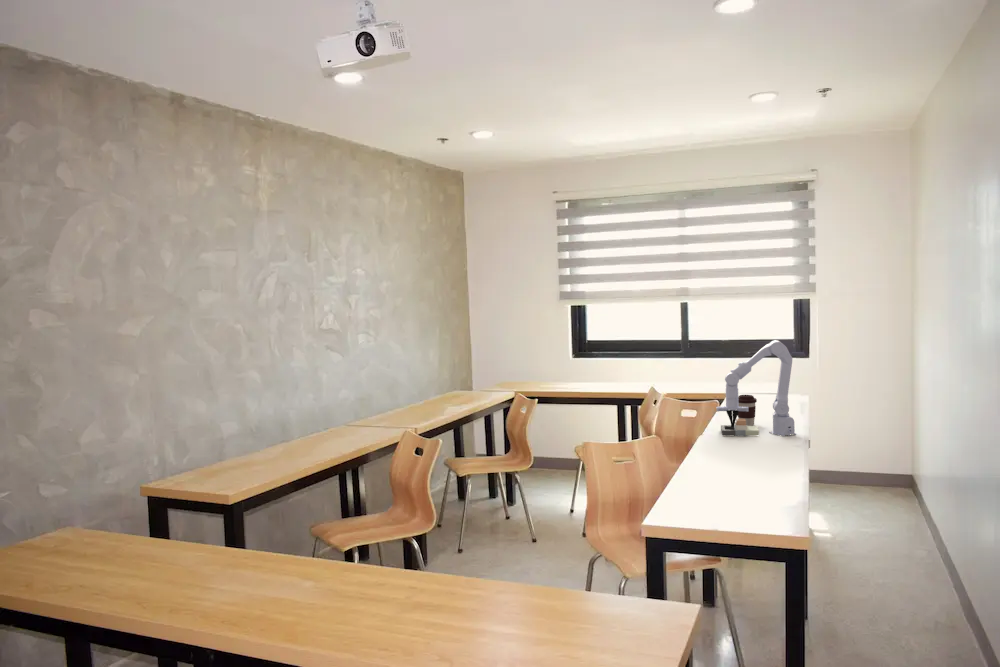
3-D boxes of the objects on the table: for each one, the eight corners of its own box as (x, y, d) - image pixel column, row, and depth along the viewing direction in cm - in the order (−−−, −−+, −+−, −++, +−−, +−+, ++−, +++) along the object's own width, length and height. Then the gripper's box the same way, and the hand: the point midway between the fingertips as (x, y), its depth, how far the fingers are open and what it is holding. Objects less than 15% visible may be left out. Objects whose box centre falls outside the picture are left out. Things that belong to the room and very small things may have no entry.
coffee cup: (753, 427, 363) (752, 397, 362) (733, 426, 369) (732, 396, 368) (759, 424, 371) (759, 394, 370) (740, 422, 377) (739, 393, 376)
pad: (756, 430, 356) (756, 425, 356) (758, 435, 345) (758, 430, 345) (743, 430, 357) (743, 425, 357) (745, 435, 347) (745, 430, 346)
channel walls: (745, 426, 356) (745, 422, 356) (747, 430, 347) (747, 425, 347) (735, 426, 357) (734, 422, 357) (736, 429, 348) (736, 425, 348)
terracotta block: (745, 427, 354) (744, 418, 354) (745, 429, 349) (745, 420, 349) (736, 426, 355) (736, 418, 355) (737, 429, 350) (736, 420, 350)
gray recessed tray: (743, 430, 358) (743, 425, 358) (745, 436, 346) (745, 430, 346) (720, 430, 361) (720, 425, 361) (722, 435, 348) (722, 430, 348)
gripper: (716, 399, 350) (717, 427, 351) (748, 399, 346) (749, 427, 347) (716, 397, 357) (716, 424, 358) (747, 397, 353) (748, 424, 354)
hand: (732, 426), depth 353 cm, fingers closed
